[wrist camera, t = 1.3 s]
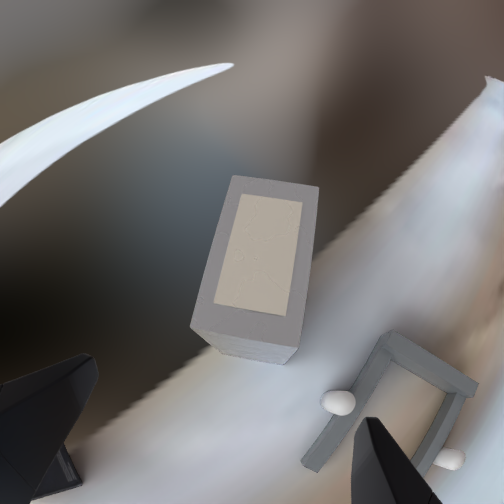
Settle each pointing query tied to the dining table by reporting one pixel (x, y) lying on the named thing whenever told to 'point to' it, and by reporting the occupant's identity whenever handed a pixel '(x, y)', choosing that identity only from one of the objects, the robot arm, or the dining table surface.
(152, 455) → the dining table surface
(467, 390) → the dock
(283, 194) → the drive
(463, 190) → the dining table surface
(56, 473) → the small box
